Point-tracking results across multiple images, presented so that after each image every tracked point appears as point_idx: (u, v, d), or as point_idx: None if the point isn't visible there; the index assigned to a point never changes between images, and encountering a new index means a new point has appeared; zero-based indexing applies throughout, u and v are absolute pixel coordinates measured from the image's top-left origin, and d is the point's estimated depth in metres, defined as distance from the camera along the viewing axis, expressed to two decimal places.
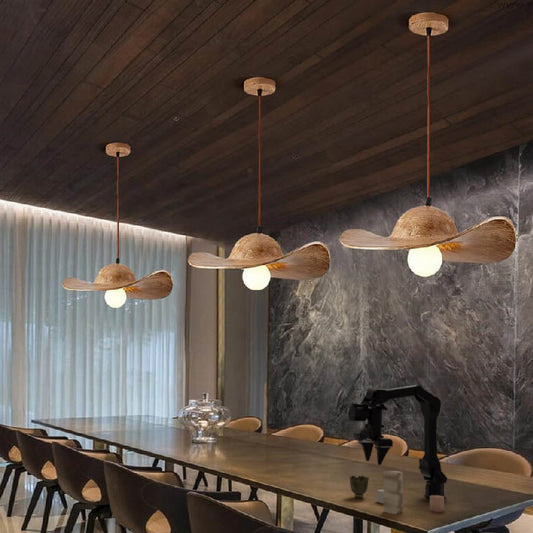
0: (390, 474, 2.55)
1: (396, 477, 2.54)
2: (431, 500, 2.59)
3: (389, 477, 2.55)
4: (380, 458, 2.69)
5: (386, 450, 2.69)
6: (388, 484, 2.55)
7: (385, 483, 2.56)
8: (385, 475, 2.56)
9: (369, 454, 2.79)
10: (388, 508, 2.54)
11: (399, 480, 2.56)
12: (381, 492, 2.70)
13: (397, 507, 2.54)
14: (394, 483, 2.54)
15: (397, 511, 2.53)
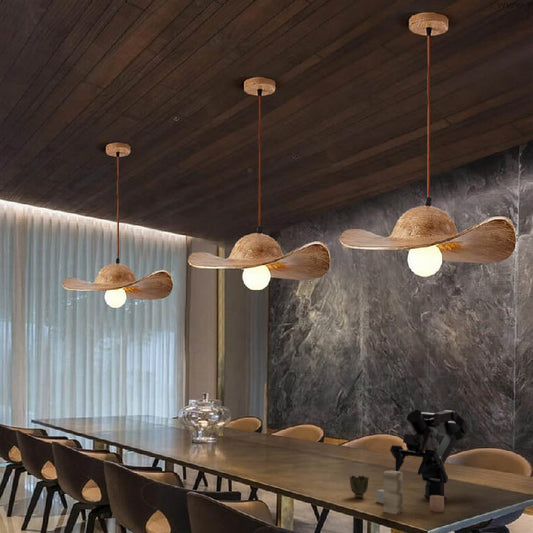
0: (390, 474, 2.55)
1: (396, 477, 2.54)
2: (431, 500, 2.59)
3: (389, 477, 2.55)
4: (422, 469, 2.64)
5: (429, 465, 2.67)
6: (388, 484, 2.55)
7: (385, 483, 2.56)
8: (385, 475, 2.56)
9: (399, 466, 2.71)
10: (388, 508, 2.54)
11: (399, 480, 2.56)
12: (381, 492, 2.70)
13: (397, 507, 2.54)
14: (394, 483, 2.54)
15: (397, 511, 2.53)
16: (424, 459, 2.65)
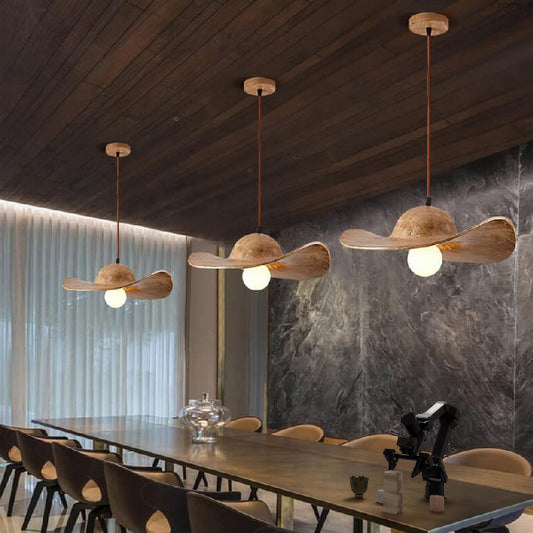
0: (390, 474, 2.55)
1: (396, 477, 2.54)
2: (431, 500, 2.59)
3: (389, 477, 2.55)
4: (416, 472, 2.59)
5: (422, 469, 2.62)
6: (388, 484, 2.55)
7: (385, 483, 2.56)
8: (385, 475, 2.56)
9: (392, 470, 2.66)
10: (388, 508, 2.54)
11: (399, 480, 2.56)
12: (381, 492, 2.70)
13: (397, 507, 2.54)
14: (394, 483, 2.54)
15: (397, 511, 2.53)
16: (417, 462, 2.60)
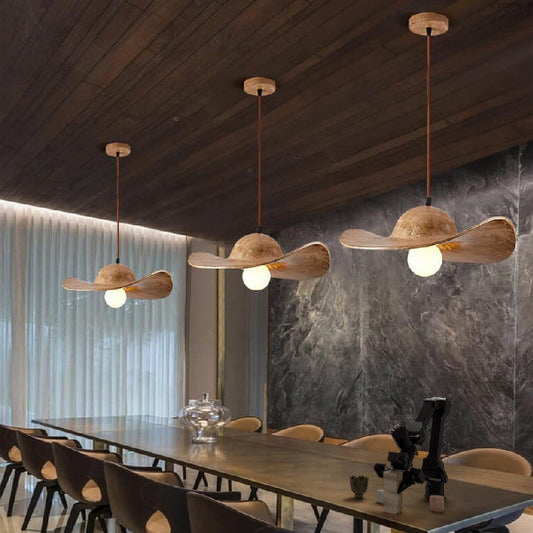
0: (390, 474, 2.55)
1: (396, 477, 2.54)
2: (431, 500, 2.59)
3: (389, 477, 2.55)
4: (402, 487, 2.55)
5: (409, 484, 2.57)
6: (388, 484, 2.55)
7: (385, 483, 2.56)
8: (385, 475, 2.56)
9: None
10: (388, 507, 2.54)
11: (399, 480, 2.56)
12: (381, 492, 2.70)
13: (397, 507, 2.54)
14: (394, 483, 2.54)
15: (397, 511, 2.53)
16: (404, 477, 2.56)
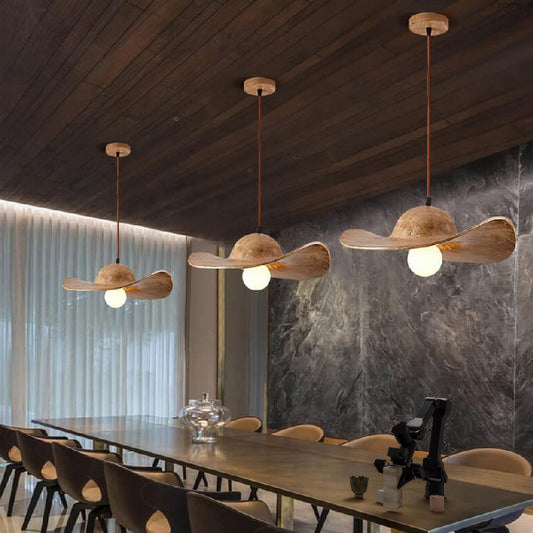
0: (390, 470, 2.55)
1: (396, 473, 2.54)
2: (431, 500, 2.59)
3: (389, 473, 2.55)
4: (402, 483, 2.55)
5: (409, 479, 2.57)
6: (387, 479, 2.55)
7: (385, 478, 2.56)
8: (385, 471, 2.56)
9: None
10: (388, 503, 2.55)
11: (399, 475, 2.56)
12: (381, 492, 2.70)
13: (397, 502, 2.54)
14: (394, 479, 2.54)
15: (397, 506, 2.54)
16: (404, 473, 2.56)
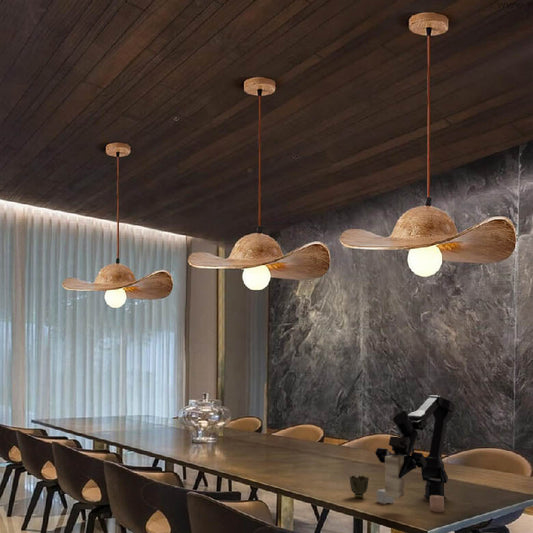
0: (391, 458, 2.57)
1: (397, 461, 2.56)
2: (431, 500, 2.59)
3: (391, 461, 2.57)
4: (404, 472, 2.56)
5: (410, 468, 2.59)
6: (389, 468, 2.57)
7: (387, 467, 2.57)
8: (387, 459, 2.58)
9: None
10: (390, 492, 2.56)
11: (400, 464, 2.57)
12: (381, 492, 2.70)
13: (399, 491, 2.55)
14: (396, 467, 2.55)
15: (399, 495, 2.55)
16: (405, 462, 2.57)
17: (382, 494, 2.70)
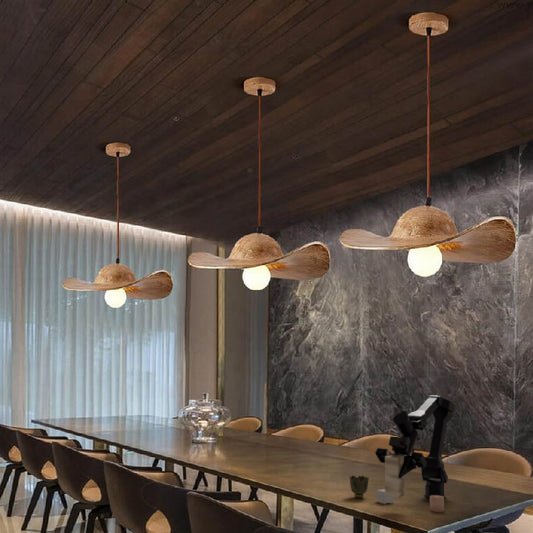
0: (391, 458, 2.57)
1: (397, 461, 2.56)
2: (431, 500, 2.59)
3: (391, 461, 2.57)
4: (404, 472, 2.56)
5: (410, 468, 2.59)
6: (389, 468, 2.57)
7: (387, 467, 2.57)
8: (387, 459, 2.58)
9: None
10: (390, 492, 2.56)
11: (400, 464, 2.57)
12: (381, 492, 2.70)
13: (399, 491, 2.55)
14: (396, 467, 2.55)
15: (399, 495, 2.55)
16: (405, 462, 2.57)
17: (382, 494, 2.70)
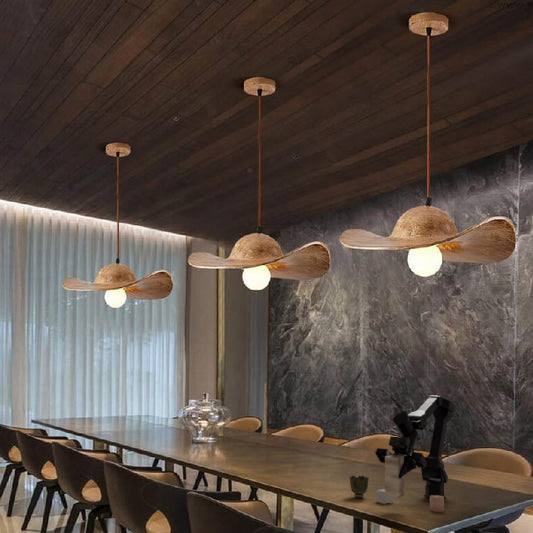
0: (391, 458, 2.57)
1: (397, 461, 2.56)
2: (431, 500, 2.59)
3: (391, 461, 2.57)
4: (404, 472, 2.56)
5: (410, 468, 2.59)
6: (389, 468, 2.57)
7: (387, 467, 2.57)
8: (387, 459, 2.58)
9: None
10: (390, 492, 2.56)
11: (400, 464, 2.57)
12: (381, 492, 2.70)
13: (399, 491, 2.55)
14: (396, 467, 2.55)
15: (399, 495, 2.55)
16: (405, 462, 2.57)
17: (382, 494, 2.70)
